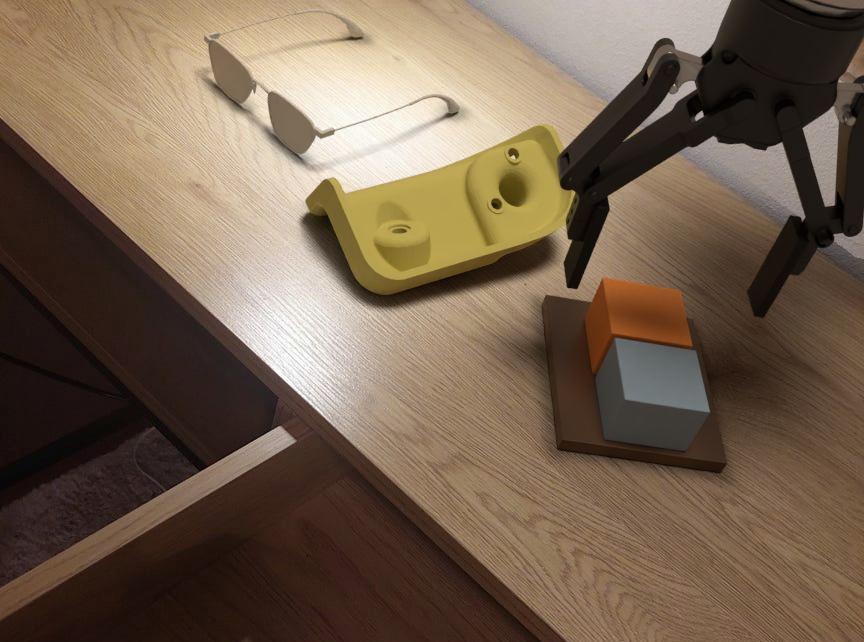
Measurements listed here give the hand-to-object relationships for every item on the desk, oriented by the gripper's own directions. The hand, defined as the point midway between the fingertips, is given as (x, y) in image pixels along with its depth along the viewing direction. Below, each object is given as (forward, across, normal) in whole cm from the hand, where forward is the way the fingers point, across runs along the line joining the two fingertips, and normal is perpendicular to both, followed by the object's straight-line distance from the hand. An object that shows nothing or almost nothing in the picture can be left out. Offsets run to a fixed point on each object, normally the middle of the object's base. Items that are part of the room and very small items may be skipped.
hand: (663, 291), depth 75 cm
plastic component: (+7, -14, +10) cm, 19 cm away
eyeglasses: (+7, -23, +28) cm, 37 cm away
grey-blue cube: (+6, 0, -6) cm, 9 cm away
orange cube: (+6, -1, 0) cm, 6 cm away
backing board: (+7, 0, -2) cm, 7 cm away
